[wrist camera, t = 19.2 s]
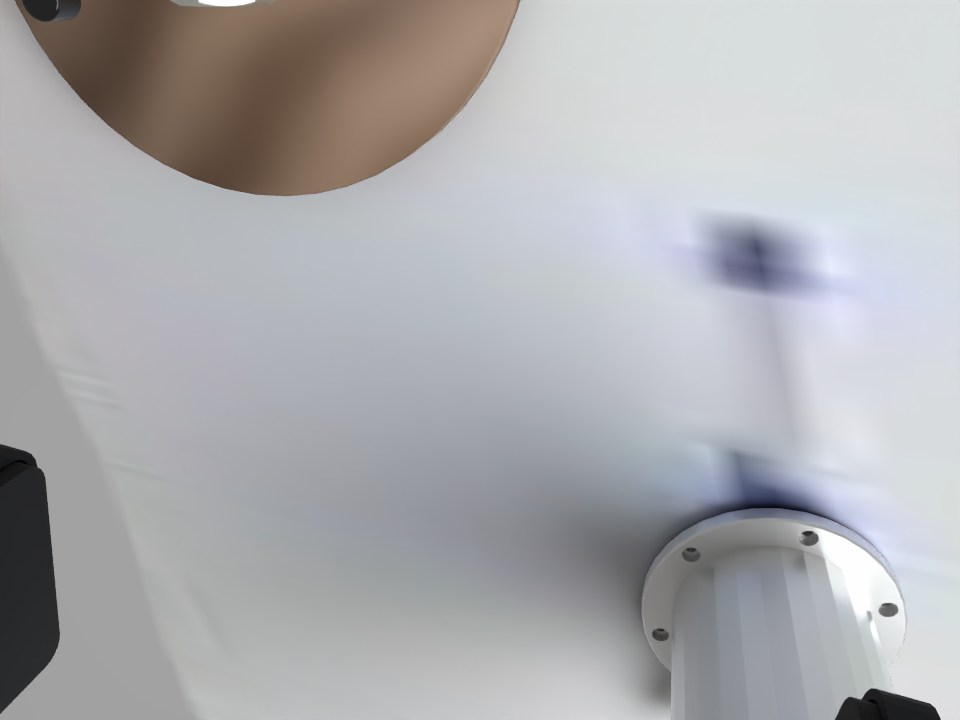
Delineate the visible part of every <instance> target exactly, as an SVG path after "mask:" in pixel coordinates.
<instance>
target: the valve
mask: <svg viewBox="0 0 960 720" xmlns="http://www.w3.org/2000/svg"><path fill="white" fill-rule="evenodd" d="M171 1H172V2H174V3H176V4H178V5H180V6H198V7H226V6H257V5H269V4H272V3H274V2H275V1H277V0H171ZM22 3H23V5H24V7H25V9H26V11H27V12H28V13H29V14H30V15H31V16H32V17H33V18H35V19H36V20H38V21H41V22H53V21H64V20H71V19H73V18H75V17H76V16H77V15H78V13H79V12H80V9H81V0H22Z"/></svg>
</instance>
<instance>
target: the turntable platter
mask: <svg viewBox="0 0 960 720" xmlns="http://www.w3.org/2000/svg"><path fill="white" fill-rule="evenodd" d="M15 1H16V3H17V6H18V7H19V9H20V11H21V13H22V15H23V16H24V18H25V20H26V22H27V24H28V25H29V27H30V29H31V31H32V33H33V34H34V36H35V38H36V40H37V41H38V43H39V44H40V46H41V47H42V48H43V50H44V51H45V53H46V54H47V56H48V57H49V59H50V60H51V62H52V63H53V64H54V66H55V67H56V69H57V70H58V72H59V73H60V74H61V75H62V76H63V78H64V79H65V80H66V81H67V82H68V84H69V85H70V86H71V87H72V88H73V89H74V91H75V92H76V93H77V94H78V95H79V97H80V98H81V99H82V100H83V101H84V102H85V103H86V104H87V105H88V106H89V107H90V108H91V109H92V110H93V111H94V112H95V113H96V114H97V115H98V116H99V117H100V118H101V119H102V120H103V121H105V122H106V123H107V124H108V125H109V126H110V127H111V128H113V129H114V130H115V131H116V132H118V133H119V134H120V135H121V136H123V137H124V138H125V139H127V140H128V141H129V142H130V143H132V144H133V145H134V146H135V147H137V148H139V149H140V150H142V151H144V152H145V153H147V154H148V155H150V156H152V157H153V158H155V159H156V160H158V161H160V162H161V163H163V164H164V165H167V166H169V167H171V168H173V169H175V170H177V171H179V172H181V173H184V174H186V175H188V176H190V177H192V178H194V179H197V180H200V181H203V182H206V183H209V184H212V185H215V186H218V187H221V188H225V189H230V190H235V191H240V192H245V193H251V194H257V195H275V196H293V195H305V194H317V193H321V192H326V191H330V190H334V189H338V188H343V187H347V186H350V185H352V184H355V183H357V182H360V181H362V180H365V179H367V178H370V177H372V176H375V175H377V174H379V173H381V172H383V171H384V170H386V169H388V168H390V167H391V166H393V165H395V164H396V163H398V162H400V161H402V160H403V159H405V158H407V157H408V156H409V155H411V154H412V153H413V152H415V151H416V150H417V149H419V148H420V147H421V146H422V145H424V144H425V143H426V142H428V141H429V140H430V139H431V138H433V137H434V136H435V135H436V134H438V133H439V132H440V131H441V130H442V129H443V128H444V127H445V126H446V125H447V124H448V123H449V122H450V121H451V120H452V119H453V118H454V117H455V116H456V115H457V114H458V113H459V112H460V111H461V110H462V109H463V107H464V106H465V105H466V104H467V102H468V101H469V100H470V98H471V97H472V96H473V94H474V93H475V91H476V90H477V89H478V87H479V86H480V85H481V83H482V82H483V80H484V79H485V78H486V76H487V74H488V72H489V70H490V69H491V67H492V65H493V63H494V61H495V59H496V58H497V56H498V54H499V52H500V50H501V48H502V47H503V45H504V42H505V40H506V37H507V35H508V32H509V30H510V27H511V25H512V22H513V19H514V17H515V14H516V12H517V9H518V6H519V3H520V0H277V1H275V2H274V3H272V4H269V5H257V6H226V7H198V6H180V5H178V4H176V3H174V2H172V1H171V0H81V9H80V12H79V13H78V15H77V16H76V17H75V18H73V19H71V20H64V21H53V22H41V21H38V20H36V19H35V18H33V17H32V16H31V15H30V14H29V13H28V12H27V11H26V9H25V7H24V5H23V3H22V0H15Z"/></svg>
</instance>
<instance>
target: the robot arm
mask: <svg viewBox="0 0 960 720" xmlns="http://www.w3.org/2000/svg"><path fill="white" fill-rule="evenodd" d="M641 614H642V621H643V627H644V632H645V634H646V637H647V639H648V642H649V644H650V647H651V649H652V650H653V651H654V653H655V654H656V656H657V657H658V659H659V660H660V662H661V663H662V664H663V665H664V666H665V667H666V668H667V669H668V670H669V671H670V672H671V720H941V719H940V717H939V715H938V713H937V711H936V709H935V708H934V707H933V706H932V705H931V704H929V703H926V702H922V701H919V700H915V699H911V698H908V697H904V696H901V695H897V694H895V690H894V687H893V684H892V680H891V677H890V674H889V668H890V667H891V665H892V664H893V663H894V661H895V660H896V659H897V657H898V655H899V652H900V650H901V648H902V645H903V643H904V641H905V635H906V628H907V614H906V606H905V600H904V598H903V595H902V592H901V589H900V586H899V583H898V580H897V579H896V577H895V575H894V573H893V571H892V570H891V568H890V566H889V564H888V562H887V561H886V560H885V559H884V558H883V557H882V556H881V555H880V553H879V552H878V551H877V550H876V549H875V548H874V547H873V546H872V545H871V544H870V543H868V542H867V541H866V540H864V539H863V538H862V537H860V536H859V535H858V534H856V533H855V532H854V531H852V530H850V529H848V528H846V527H844V526H842V525H840V524H838V523H836V522H834V521H832V520H829V519H826V518H823V517H820V516H816V515H813V514H810V513H807V512H801V511H794V510H788V509H781V508H752V509H745V510H739V511H732V512H727V513H724V514H721V515H718V516H714V517H711V518H708V519H705V520H703V521H701V522H699V523H697V524H695V525H693V526H692V527H690V528H688V529H686V530H684V531H683V532H681V533H680V534H679V535H678V536H676V537H675V538H674V539H673V540H671V541H670V542H669V543H668V544H667V545H666V546H665V547H664V548H663V549H662V551H661V552H660V553H659V554H658V556H657V557H656V558H655V559H654V561H653V563H652V565H651V567H650V569H649V571H648V573H647V575H646V579H645V583H644V588H643V592H642V610H641ZM58 621H59V620H58V610H57V600H56V588H55V578H54V567H53V556H52V546H51V535H50V524H49V514H48V502H47V492H46V481H45V476H44V473H43V472H42V470H41V469H39V468H37V464H36V460H35V459H34V457H33V456H32V454H30V453H28V452H26V451H23V450H19V449H15V448H12V447H9V446H5V445H1V444H0V713H1V712H2V711H3V710H4V709H5V708H6V707H7V706H8V705H9V704H10V703H11V702H12V701H13V700H14V699H15V698H16V697H17V696H18V695H19V694H20V693H21V692H22V691H23V690H24V689H25V688H26V687H27V685H29V684H30V683H31V682H32V681H33V680H34V678H35V677H36V676H37V675H38V674H39V673H40V672H41V671H42V670H43V669H44V668H45V667H46V666H47V665H48V663H49V662H50V661H51V659H52V657H53V656H54V654H55V652H56V649H57V647H58V643H59V636H60V632H59V622H58Z"/></svg>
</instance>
